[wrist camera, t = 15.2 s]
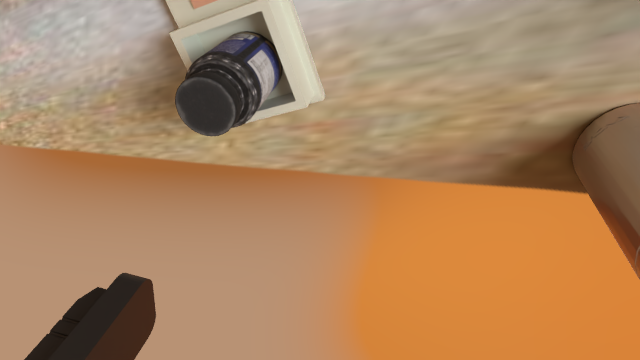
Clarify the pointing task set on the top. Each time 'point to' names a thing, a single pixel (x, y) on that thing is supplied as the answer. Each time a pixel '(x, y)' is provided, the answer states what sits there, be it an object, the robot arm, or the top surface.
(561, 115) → the top surface
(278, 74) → the pill bottle
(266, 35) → the cream compartment organizer
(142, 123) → the top surface
